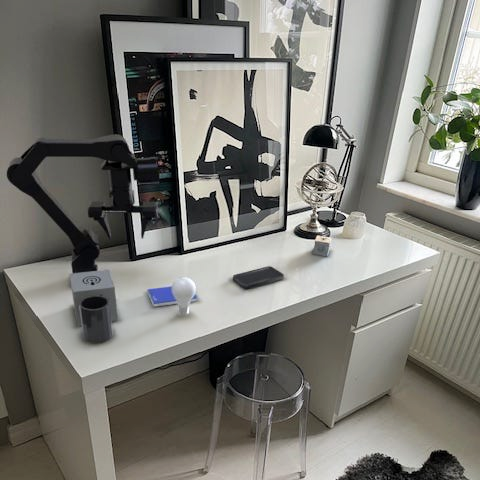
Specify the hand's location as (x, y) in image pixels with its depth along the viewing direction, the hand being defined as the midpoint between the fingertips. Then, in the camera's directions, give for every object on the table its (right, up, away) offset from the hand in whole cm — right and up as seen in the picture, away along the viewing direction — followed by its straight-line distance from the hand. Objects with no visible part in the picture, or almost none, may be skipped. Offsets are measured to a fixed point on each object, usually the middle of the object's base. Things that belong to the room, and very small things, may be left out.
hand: (126, 238), depth 144 cm
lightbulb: (+18, -22, -9) cm, 30 cm away
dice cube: (+61, 0, +31) cm, 69 cm away
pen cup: (-3, -28, -20) cm, 34 cm away
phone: (+39, -11, +11) cm, 42 cm away
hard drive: (+13, -17, -1) cm, 22 cm away
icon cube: (-6, -22, -11) cm, 25 cm away
